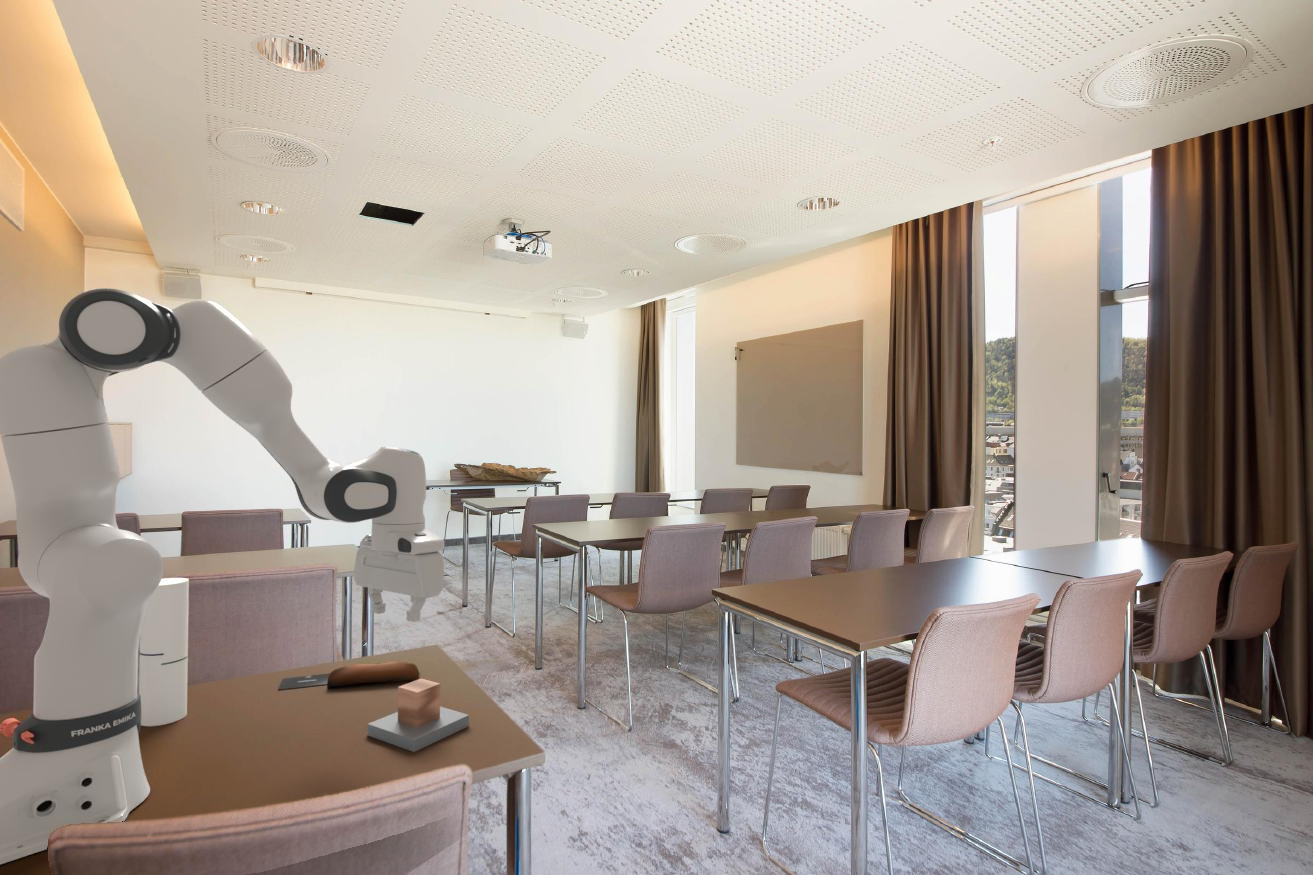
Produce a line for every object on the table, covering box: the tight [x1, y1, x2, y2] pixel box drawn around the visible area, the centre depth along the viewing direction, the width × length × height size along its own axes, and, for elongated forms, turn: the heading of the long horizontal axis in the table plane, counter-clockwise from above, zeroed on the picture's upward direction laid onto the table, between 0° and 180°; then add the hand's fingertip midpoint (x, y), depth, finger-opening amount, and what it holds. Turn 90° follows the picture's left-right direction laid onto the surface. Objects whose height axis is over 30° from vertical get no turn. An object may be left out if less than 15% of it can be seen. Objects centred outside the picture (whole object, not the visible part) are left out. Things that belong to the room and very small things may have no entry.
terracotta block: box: [397, 678, 441, 727], centre depth 119 cm, size 5×5×6 cm
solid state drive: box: [277, 672, 331, 691], centre depth 142 cm, size 7×10×1 cm
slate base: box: [367, 705, 470, 753], centre depth 119 cm, size 12×12×2 cm
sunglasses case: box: [326, 660, 421, 689], centre depth 144 cm, size 18×7×7 cm
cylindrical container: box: [138, 577, 190, 727], centre depth 123 cm, size 7×7×25 cm
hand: (395, 616), depth 119 cm, fingers open, 8 cm apart
